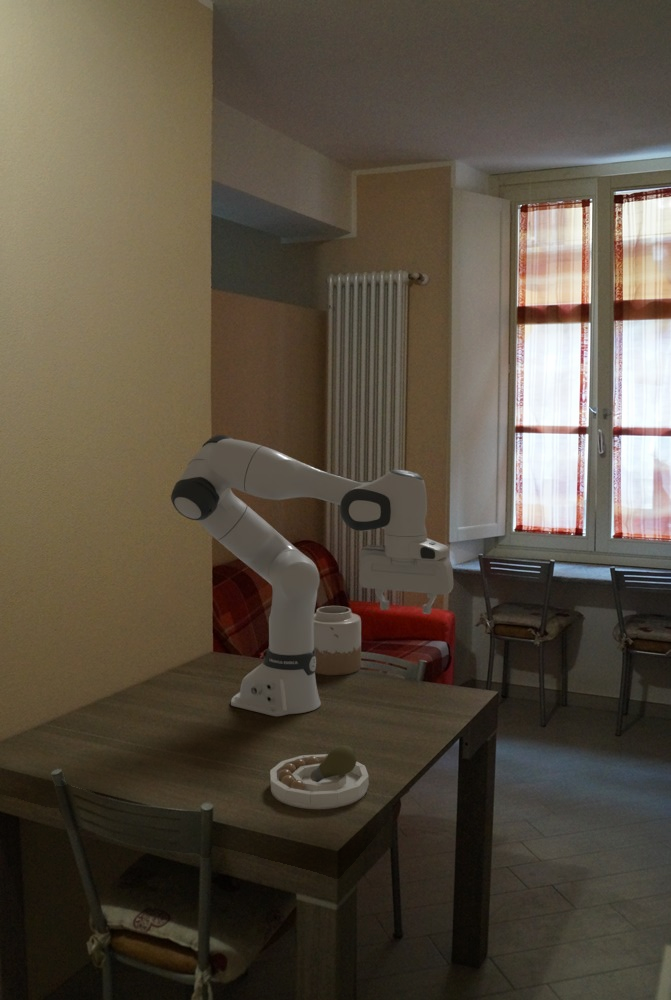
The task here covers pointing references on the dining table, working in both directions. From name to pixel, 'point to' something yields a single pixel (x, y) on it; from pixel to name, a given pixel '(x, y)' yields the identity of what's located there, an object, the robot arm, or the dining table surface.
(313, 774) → the light bulb
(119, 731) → the dining table surface
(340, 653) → the vase
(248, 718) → the dining table surface
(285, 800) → the bead tray
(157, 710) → the dining table surface
